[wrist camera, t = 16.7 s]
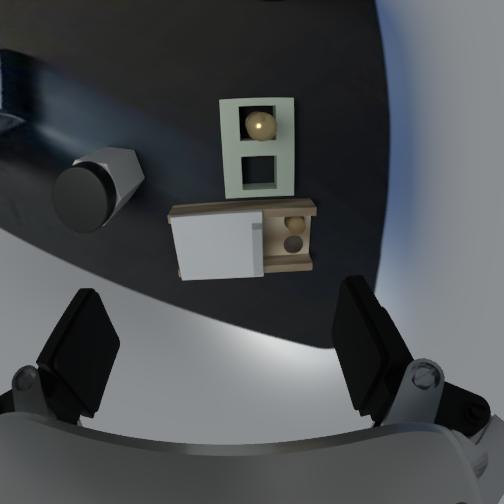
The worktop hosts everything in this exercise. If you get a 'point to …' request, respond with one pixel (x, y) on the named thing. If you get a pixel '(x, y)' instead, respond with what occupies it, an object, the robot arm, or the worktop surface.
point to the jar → (96, 188)
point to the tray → (271, 229)
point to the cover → (219, 244)
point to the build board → (258, 148)
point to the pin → (261, 126)
